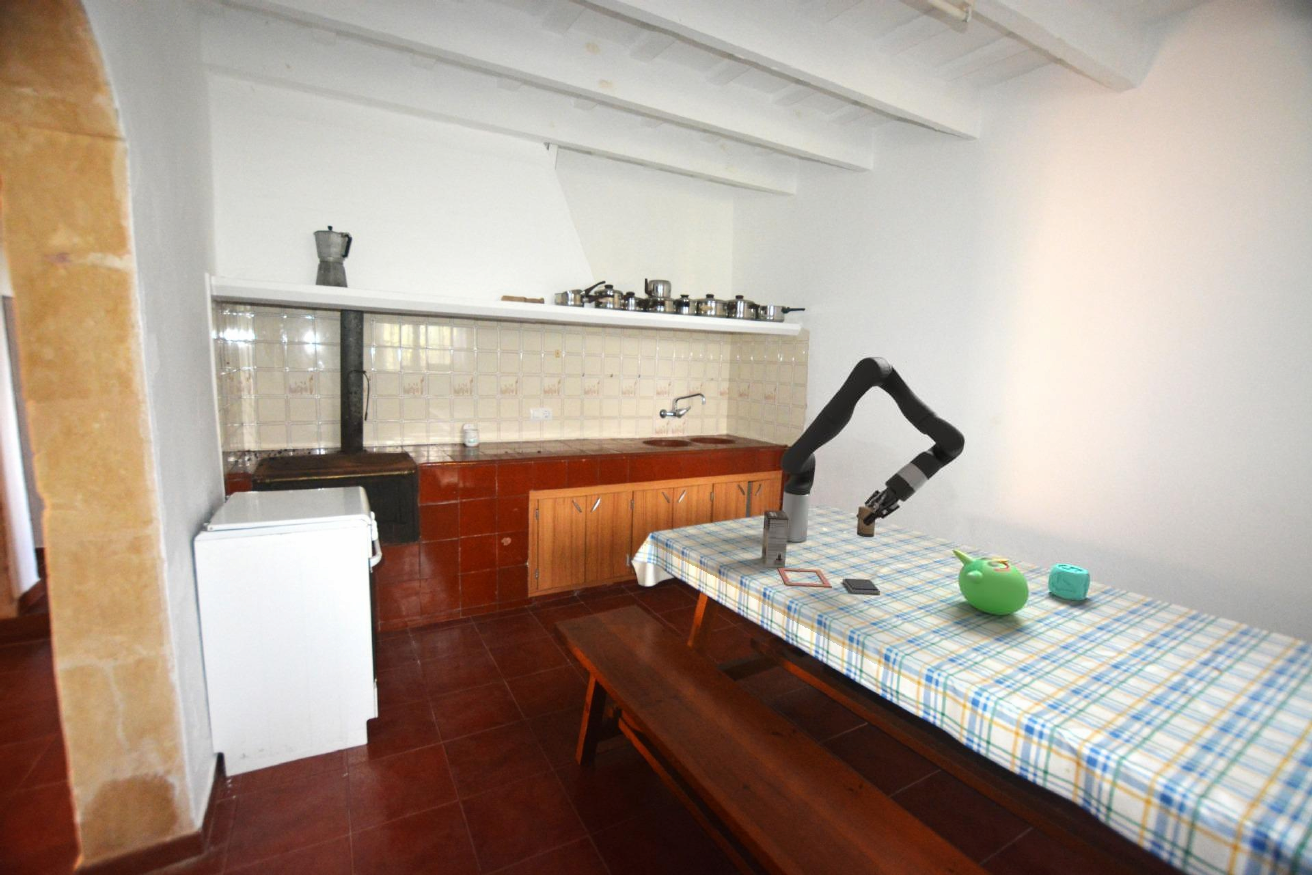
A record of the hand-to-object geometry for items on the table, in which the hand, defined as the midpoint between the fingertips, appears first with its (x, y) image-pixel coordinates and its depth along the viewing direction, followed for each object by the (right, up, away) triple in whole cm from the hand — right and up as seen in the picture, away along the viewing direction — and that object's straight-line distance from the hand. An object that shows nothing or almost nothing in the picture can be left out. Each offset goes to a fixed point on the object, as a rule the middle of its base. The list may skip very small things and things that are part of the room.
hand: (861, 520), depth 167 cm
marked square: (-16, -17, +4) cm, 24 cm away
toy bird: (+28, -22, -14) cm, 39 cm away
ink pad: (-1, -19, -3) cm, 19 cm away
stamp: (+1, -4, +1) cm, 4 cm away
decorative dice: (+59, -21, -2) cm, 62 cm away
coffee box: (-23, -16, +16) cm, 32 cm away
